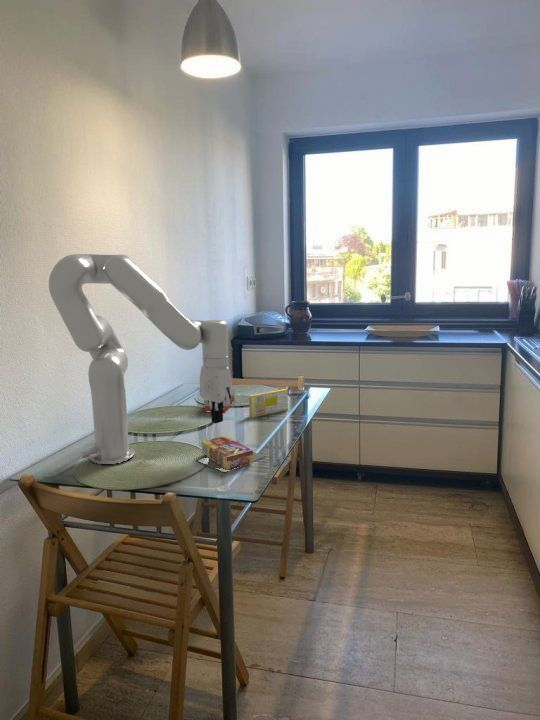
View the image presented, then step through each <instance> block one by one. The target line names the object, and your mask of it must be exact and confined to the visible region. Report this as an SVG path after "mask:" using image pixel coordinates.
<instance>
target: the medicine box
mask: <svg viewBox="0 0 540 720" xmlns="http://www.w3.org/2000/svg"><path fill="white" fill-rule="evenodd" d="M233 401H234V402H235V384H234V383H232V398H231V400H230V405H231V404H232V402H233ZM203 403H204V404H203V405H204V412H205V411H211V410H212V409H210V406H209V403H208V402H207V401H205V400H204V399H203ZM230 405H229V406H230ZM229 406H225V407H224V409H223V414H225V413H226V412H227V411H228V410H229V409H230V408H229Z"/></svg>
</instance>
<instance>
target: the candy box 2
mask: <svg viewBox="0 0 540 720" xmlns="http://www.w3.org/2000/svg"><path fill="white" fill-rule="evenodd" d="M288 391H289V390H288V389H287V388H283V389H278V390H271V391H265V392H260V393H256V394H250V395H248V405H249V408H248V409H249V412H248V413H249V417H250V418H257V417H261V416H266V415H271V414H276V413H281V412H282V413H283V412H286V411H289V403H288V402H289V400H288V398H289V394H288V393H289V392H288Z"/></svg>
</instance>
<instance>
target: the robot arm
mask: <svg viewBox="0 0 540 720" xmlns="http://www.w3.org/2000/svg"><path fill="white" fill-rule="evenodd" d="M85 284H99V285H101V284H110V285H111V286H112V287H114V289H116V290H117V291H118V292H119V293H120V294H122V295H123V296H124V297H125V298H126V299H127V300H128V301H130V302H131V303H132V304H133V305H134V306H135V307H136V308H137V309H138V310H139V311H140V312H141V313H142V314H143V315H144V316H145V317H146V318H147V319H148V321H150V322H151V323H152V324H153V325H154V327H156V328H157V329H158V330H159V331H160V332H161V333H162V334H163V335H164V336H165V337H166V338H167V339H169V340H170V341H171V343H172V342H173V345H174V344H175V345H176V346H177V347H178V348H180V349H182V350H185V351H190V350H193V349H195V348H197V347H198V346H199V345H200V344H201V346H202V347H201V348H202V365H201V369H200V373H199V374H200V375H199V396H200V398H202V399H203V401H204V400H205V401H207V402H208V403H209V406H210V409H212V410H211V413H210V414H211V423H212V424H213V423H214V424H219V423H221V422H223V421H224V413H223V409H224V407H225V406H229V405H230V400H231V398H232V384H233V383H232V375H231V371H230V370H231V369H230V367H229V334H228V333H229V332H228V331H229V330H228V328H229V327H228V324H227V322H226V321H225V320H221V319H210V320H198V319H191V318H190V319H188V318H186V317H185V316H184V314H182V312H180V311H179V310H178V309H177V308H176V307H175V306H174V305H173V304H172V302H171V301H170V300H169V298H168V296H167V295H166V293H165V291H164V290H163V289H162V288H161V287H160V286H159V285H158V284H157V283H155V281H154V280H152V279H151V278H149V276H148V275H146V273H144V272H143V271H142V270H141V269H140V268H139V267H138V266H137V264H136V262H135V260H134V259H133V258H132V257H131V256H128V255H127V254H91V253H89V254H88V253H73V254H68V255H65V256H64V257H62V258H61V259H59V260H58V262H56V263H55V265H54V266H53V268H52V270H51V271H50V274H49V278H48V290H49V293H50V298H51V300H52V301H53V304H54V305H55V307H56V308H57V309H56V310H57V311H58V313H59V315H60V317H61V318H62V321H63V323H64V325H65V326H66V329H67V330H68V332H69V334H70V336H71V338H72V340H73V342H74V344H75V346H77V348H78V349H79V350H81V351H83V352H85V353H89V354H90V357H91V358H92V360H91V362H90V364H89V367H88V370H87V371H88V372H87V374H88V375H87V377H88V383H89V388H90V389H89V390H90V394H91V395H90V396H91V406H92V407H91V408H92V418H93V419H92V420H93V429H94V432H93V433H94V443H93V444H91V448H89V449H88V450H83V451H80V452H79V458H80V459H85V458H89V460H91V462H93V463H94V464H96V463H97V465H101V464H113V465H115V464H114V463H118V462H122V461H125V460H128V459H130V458H131V457H132V456H133V455H134V454H135V455H136V452H135V450H134V449H133V448H132V447H131V446H130V443H129V442H130V441H129V428H128V427H129V426H128V425H129V424H128V409H127V408H128V407H127V397H126V396H127V394H126V388H125V387H126V385H125V374H126V372H127V370H128V367H129V361H128V357H127V356H128V355H127V354H126V351H125V350H124V347H123V346H122V344H121V342H120V340H119V338H118V336H117V334H116V332H115V331H114V329H113V327H112V324H110V322H109V321H108V320H107V319H106V318H105V317H103V316H101V315H97V314H96V313H95V311H94V309H93V308H92V305H91V303H90V301H89V299H88V298H87V296H86V294H85V293H84V291H83V285H85ZM130 460H131V459H130Z"/></svg>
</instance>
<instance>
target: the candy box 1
mask: <svg viewBox="0 0 540 720" xmlns="http://www.w3.org/2000/svg"><path fill="white" fill-rule="evenodd" d="M253 452H254V451H253V449H250V448H249V447H248V446H246V445H244V444H242V443H240V442H238V441H236V440H235V439H233V438H231V437H230V436H228V435H225V436H219V437H215V438H214V437H213V438H211V439H205V440H203V441H201V454H202V453H204V454H206V455H207V456H208V458H210V459H211V460H213V461H214V462H216V463H217V464H219V465H220V466H222V467H223V468H225V469H226V470H229V469H233V468H236V467H239V468H241V467H240V466H242V467H244V466H247V465H251V464H254V462H253ZM204 454H203V455H204ZM207 456H206V457H207Z"/></svg>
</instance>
